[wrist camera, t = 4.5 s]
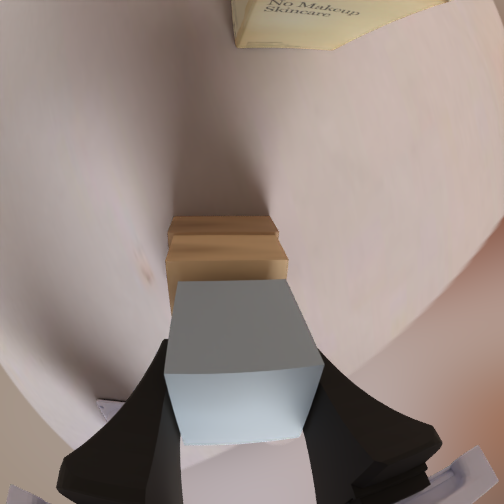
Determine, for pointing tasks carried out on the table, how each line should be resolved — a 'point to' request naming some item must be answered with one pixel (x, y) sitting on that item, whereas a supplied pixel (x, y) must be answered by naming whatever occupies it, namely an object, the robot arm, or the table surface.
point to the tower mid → (224, 259)
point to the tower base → (221, 226)
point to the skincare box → (315, 21)
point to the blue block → (240, 362)
